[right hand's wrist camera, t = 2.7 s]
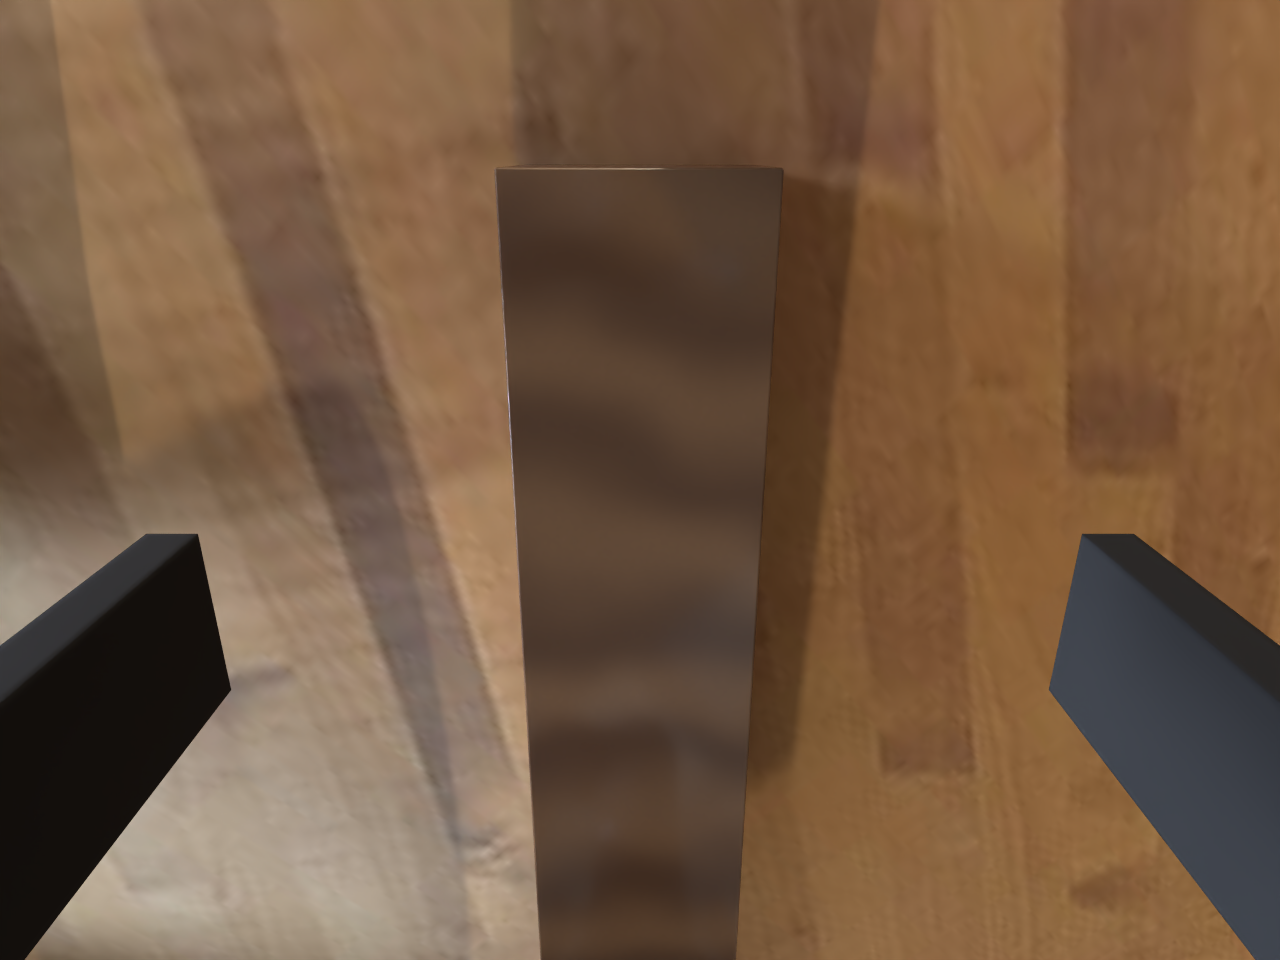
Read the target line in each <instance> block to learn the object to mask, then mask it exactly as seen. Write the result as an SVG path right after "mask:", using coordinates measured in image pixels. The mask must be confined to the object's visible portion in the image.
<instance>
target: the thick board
mask: <svg viewBox="0 0 1280 960" xmlns="http://www.w3.org/2000/svg"><path fill="white" fill-rule="evenodd" d="M783 172H784V170H783V169H782V168H776V167H766V166H756V165H518V166H508V167H497V168H495V187H496V204H497V221H498V238H499V255H500V272H501V289H502V306H503V324H504V341H505V358H506V375H507V392H508V409H509V426H510V443H511V460H512V477H513V494H514V512H515V529H516V546H517V563H518V580H519V597H520V614H521V631H522V648H523V665H524V683H525V700H526V717H527V734H528V751H529V768H530V785H531V802H532V819H533V836H534V853H535V871H536V888H537V905H538V922H539V939H540V956H541V960H736V947H737V930H738V914H739V898H740V881H741V865H742V848H743V832H744V815H745V799H746V782H747V766H748V749H749V733H750V716H751V700H752V683H753V667H754V650H755V634H756V617H757V601H758V584H759V568H760V551H761V535H762V518H763V502H764V485H765V469H766V452H767V436H768V419H769V403H770V386H771V370H772V353H773V337H774V321H775V304H776V288H777V271H778V255H779V238H780V222H781V205H782V189H783Z"/></svg>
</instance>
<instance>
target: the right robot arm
mask: <svg viewBox="0 0 1280 960" xmlns="http://www.w3.org/2000/svg"><path fill="white" fill-rule="evenodd" d="M230 691H231V687H230V682H229V678H228V673H227V668H226V664H225V659H224V654H223V650H222V645H221V640H220V636H219V631H218V626H217V621H216V617H215V612H214V607H213V603H212V598H211V593H210V589H209V584H208V579H207V575H206V570H205V565H204V561H203V556H202V551H201V546H200V542H199V537H198V534H146V535H144V536H143V537H142V538H140V539H139V540H138V541H136V542H135V543H134V544H132V545H131V546H130V547H129V548H127V549H126V550H125V551H123V552H122V553H121V554H119V555H118V556H117V557H115V558H114V559H113V560H112V561H110V562H109V563H108V564H106V565H105V566H104V567H102V568H101V569H100V570H99V571H97V572H96V573H95V574H93V575H92V576H91V577H89V578H88V579H87V580H85V581H84V582H83V583H82V584H80V585H79V586H78V587H76V588H75V589H74V590H72V591H71V592H70V593H68V594H67V595H66V596H65V597H63V598H62V599H61V600H59V601H58V602H57V603H55V604H54V605H53V606H52V607H50V608H49V609H48V610H46V611H45V612H44V613H42V614H41V615H40V616H38V617H37V618H36V619H35V620H33V621H32V622H31V623H29V624H28V625H27V626H25V627H24V628H23V629H21V630H20V631H19V632H18V633H16V634H15V635H14V636H12V637H11V638H10V639H8V640H7V641H6V642H5V643H3V644H2V645H1V646H0V960H25V958H26V957H27V956H28V955H29V953H30V952H31V951H32V949H33V948H34V947H35V945H36V944H37V943H38V942H39V940H40V939H41V938H42V936H43V935H44V934H45V932H46V931H47V930H48V928H49V927H50V926H51V925H52V923H53V922H54V921H55V919H56V918H57V917H58V915H59V914H60V913H61V911H62V910H63V909H64V908H65V906H66V905H67V904H68V902H69V901H70V900H71V898H72V897H73V896H74V894H75V893H76V892H77V891H78V889H79V888H80V887H81V885H82V884H83V883H84V881H85V880H86V879H87V877H88V876H89V875H90V874H91V872H92V871H93V870H94V868H95V867H96V866H97V864H98V863H99V862H100V861H101V859H102V858H103V857H104V855H105V854H106V853H107V851H108V850H109V849H110V847H111V846H112V845H113V844H114V842H115V841H116V840H117V838H118V837H119V836H120V834H121V833H122V832H123V830H124V829H125V828H126V827H127V825H128V824H129V823H130V821H131V820H132V819H133V817H134V816H135V815H136V813H137V812H138V811H139V810H140V808H141V807H142V806H143V804H144V803H145V802H146V800H147V799H148V798H149V797H150V795H151V794H152V793H153V791H154V790H155V789H156V787H157V786H158V785H159V783H160V782H161V781H162V780H163V778H164V777H165V776H166V774H167V773H168V772H169V770H170V769H171V768H172V766H173V765H174V764H175V763H176V761H177V760H178V759H179V757H180V756H181V755H182V753H183V752H184V751H185V749H186V748H187V747H188V746H189V744H190V743H191V742H192V740H193V739H194V738H195V736H196V735H197V734H198V733H199V731H200V730H201V729H202V727H203V726H204V725H205V723H206V722H207V721H208V719H209V718H210V717H211V716H212V714H213V713H214V712H215V710H216V709H217V708H218V706H219V705H220V704H221V702H222V701H223V700H224V699H225V697H226V696H227V695H228V693H229V692H230ZM1049 691H1050V692H1051V693H1052V695H1053V696H1054V697H1055V699H1056V700H1057V701H1058V702H1059V704H1060V705H1061V706H1062V708H1063V709H1064V710H1065V712H1066V713H1067V714H1068V716H1069V717H1070V718H1071V719H1072V721H1073V722H1074V723H1075V725H1076V726H1077V727H1078V729H1079V730H1080V731H1081V733H1082V734H1083V735H1084V736H1085V738H1086V739H1087V740H1088V742H1089V743H1090V744H1091V746H1092V747H1093V748H1094V749H1095V751H1096V752H1097V753H1098V755H1099V756H1100V757H1101V759H1102V760H1103V761H1104V763H1105V764H1106V765H1107V766H1108V768H1109V769H1110V770H1111V772H1112V773H1113V774H1114V776H1115V777H1116V778H1117V780H1118V781H1119V782H1120V783H1121V785H1122V786H1123V787H1124V789H1125V790H1126V791H1127V793H1128V794H1129V795H1130V797H1131V798H1132V799H1133V800H1134V802H1135V803H1136V804H1137V806H1138V807H1139V808H1140V810H1141V811H1142V812H1143V813H1144V815H1145V816H1146V817H1147V819H1148V820H1149V821H1150V823H1151V824H1152V825H1153V827H1154V828H1155V829H1156V830H1157V832H1158V833H1159V834H1160V836H1161V837H1162V838H1163V840H1164V841H1165V842H1166V844H1167V845H1168V846H1169V847H1170V849H1171V850H1172V851H1173V853H1174V854H1175V855H1176V857H1177V858H1178V859H1179V861H1180V862H1181V863H1182V864H1183V866H1184V867H1185V868H1186V870H1187V871H1188V872H1189V874H1190V875H1191V876H1192V877H1193V879H1194V880H1195V881H1196V883H1197V884H1198V885H1199V887H1200V888H1201V889H1202V891H1203V892H1204V893H1205V894H1206V896H1207V897H1208V898H1209V900H1210V901H1211V902H1212V904H1213V905H1214V906H1215V908H1216V909H1217V910H1218V911H1219V913H1220V914H1221V915H1222V917H1223V918H1224V919H1225V921H1226V922H1227V923H1228V925H1229V926H1230V927H1231V928H1232V930H1233V931H1234V932H1235V934H1236V935H1237V936H1238V938H1239V939H1240V940H1241V942H1242V943H1243V944H1244V945H1245V947H1246V948H1247V949H1248V951H1249V952H1250V953H1251V955H1252V956H1253V957H1254V958H1255V960H1280V646H1279V645H1278V644H1277V643H1275V642H1274V641H1273V640H1272V639H1270V638H1269V637H1268V636H1266V635H1265V634H1264V633H1262V632H1261V631H1260V630H1259V629H1257V628H1256V627H1255V626H1253V625H1252V624H1251V623H1249V622H1248V621H1247V620H1245V619H1244V618H1243V617H1242V616H1240V615H1239V614H1238V613H1236V612H1235V611H1234V610H1232V609H1231V608H1230V607H1228V606H1227V605H1226V604H1225V603H1223V602H1222V601H1221V600H1219V599H1218V598H1217V597H1215V596H1214V595H1213V594H1212V593H1210V592H1209V591H1208V590H1206V589H1205V588H1204V587H1202V586H1201V585H1200V584H1198V583H1197V582H1196V581H1195V580H1193V579H1192V578H1191V577H1189V576H1188V575H1187V574H1185V573H1184V572H1183V571H1181V570H1180V569H1179V568H1178V567H1176V566H1175V565H1174V564H1172V563H1171V562H1170V561H1168V560H1167V559H1166V558H1165V557H1163V556H1162V555H1161V554H1159V553H1158V552H1157V551H1155V550H1154V549H1153V548H1151V547H1150V546H1149V545H1148V544H1146V543H1145V542H1144V541H1142V540H1141V539H1140V538H1138V537H1137V536H1136V535H1134V534H1082V537H1081V542H1080V546H1079V551H1078V556H1077V561H1076V565H1075V570H1074V575H1073V579H1072V584H1071V589H1070V593H1069V598H1068V603H1067V607H1066V612H1065V617H1064V621H1063V626H1062V631H1061V636H1060V640H1059V645H1058V650H1057V654H1056V659H1055V664H1054V668H1053V673H1052V678H1051V682H1050V687H1049Z"/></svg>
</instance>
